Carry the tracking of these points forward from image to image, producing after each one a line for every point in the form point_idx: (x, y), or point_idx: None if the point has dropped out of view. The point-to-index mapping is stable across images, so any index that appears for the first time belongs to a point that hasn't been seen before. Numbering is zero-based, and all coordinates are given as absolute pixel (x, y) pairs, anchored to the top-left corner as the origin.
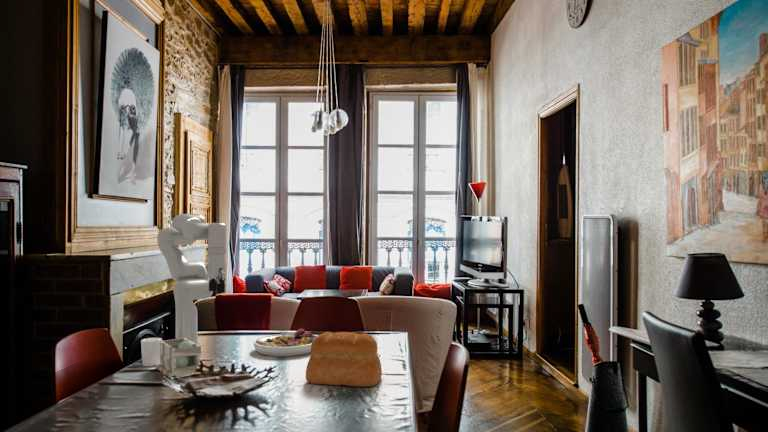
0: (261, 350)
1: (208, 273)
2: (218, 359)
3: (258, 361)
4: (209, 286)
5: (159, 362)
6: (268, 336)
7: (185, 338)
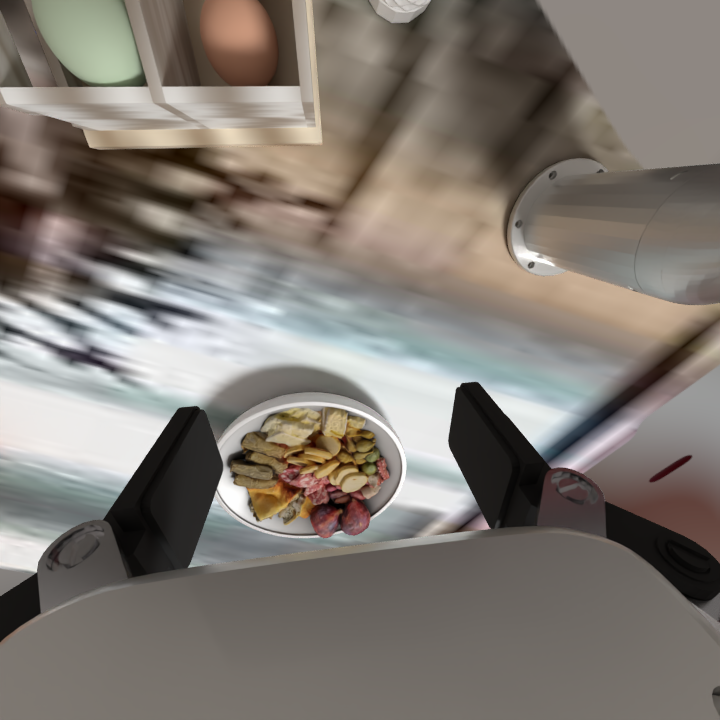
0: (274, 398)
1: (547, 684)
2: (311, 269)
3: (217, 364)
4: (486, 417)
5: (375, 6)
6: (399, 455)
7: (292, 99)
